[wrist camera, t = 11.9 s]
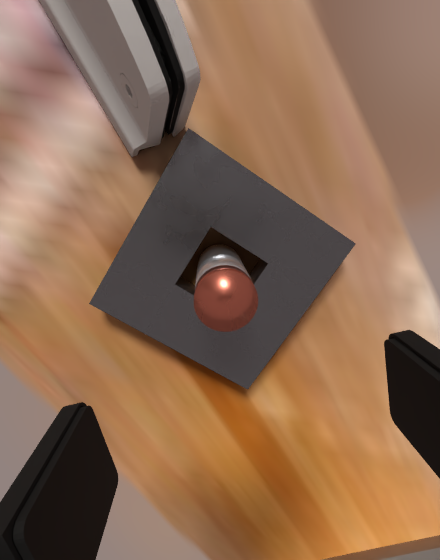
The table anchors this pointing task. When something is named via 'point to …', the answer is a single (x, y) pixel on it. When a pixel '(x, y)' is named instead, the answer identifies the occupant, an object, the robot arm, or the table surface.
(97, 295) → the socket block
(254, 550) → the table surface
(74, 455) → the robot arm
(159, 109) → the grey curved electronic device
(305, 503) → the table surface
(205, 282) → the pin
